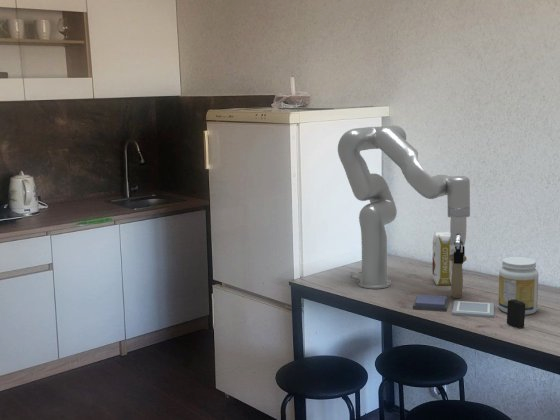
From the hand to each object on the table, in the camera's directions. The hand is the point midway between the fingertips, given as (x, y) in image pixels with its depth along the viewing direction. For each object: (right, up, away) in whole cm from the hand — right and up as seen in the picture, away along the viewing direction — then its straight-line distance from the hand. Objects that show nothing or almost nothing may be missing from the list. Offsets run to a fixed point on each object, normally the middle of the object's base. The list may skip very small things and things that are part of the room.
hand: (459, 260), depth 235 cm
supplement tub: (+16, -16, -13) cm, 26 cm away
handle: (0, -14, +3) cm, 14 cm away
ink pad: (-11, -15, -5) cm, 19 cm away
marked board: (+2, -16, -11) cm, 19 cm away
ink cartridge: (+10, -19, -27) cm, 35 cm away
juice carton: (0, -10, +21) cm, 24 cm away
